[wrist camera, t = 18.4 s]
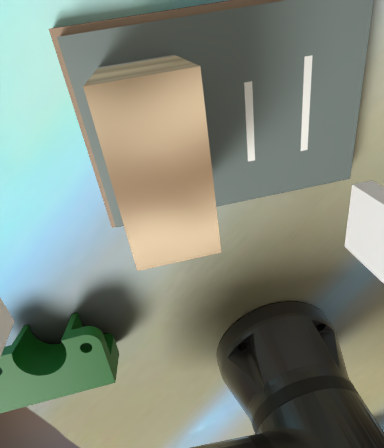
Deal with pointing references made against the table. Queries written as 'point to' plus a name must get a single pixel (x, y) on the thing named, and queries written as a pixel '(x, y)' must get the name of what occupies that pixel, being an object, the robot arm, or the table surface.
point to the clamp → (56, 365)
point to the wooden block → (157, 156)
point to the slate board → (243, 86)
